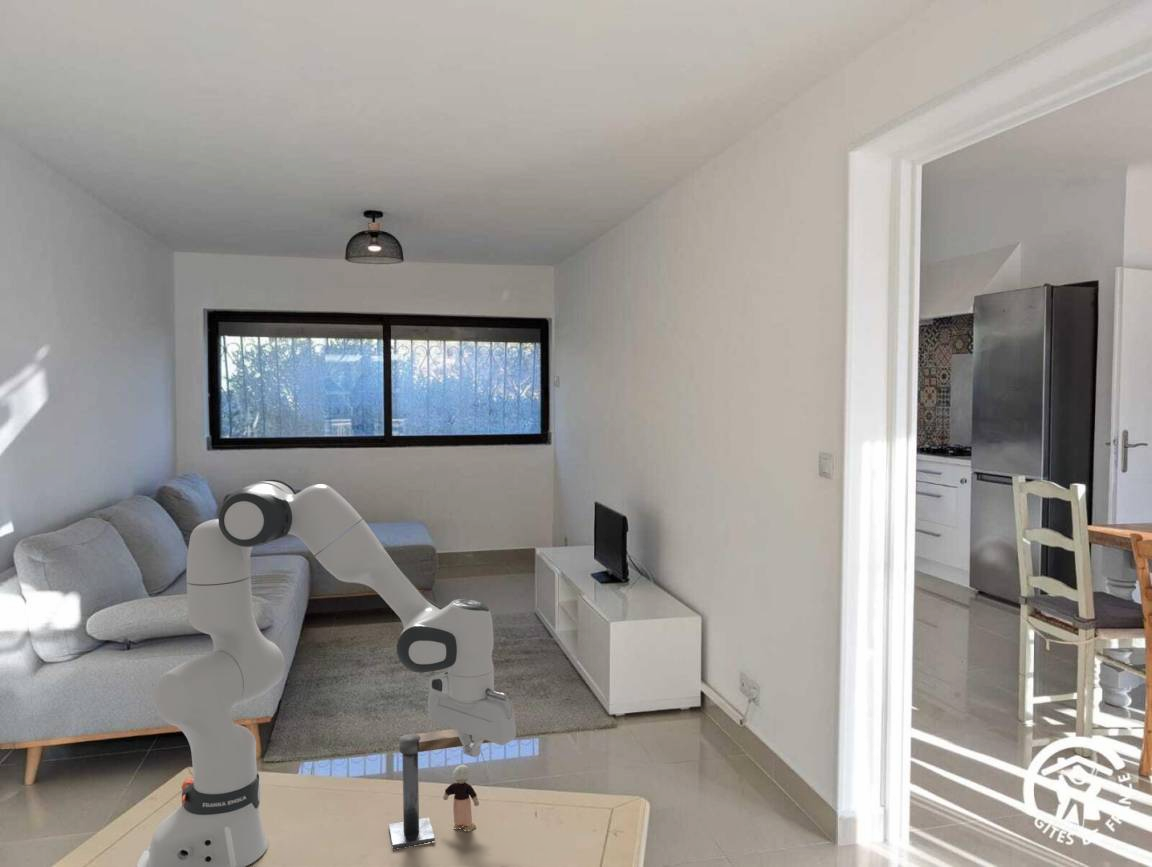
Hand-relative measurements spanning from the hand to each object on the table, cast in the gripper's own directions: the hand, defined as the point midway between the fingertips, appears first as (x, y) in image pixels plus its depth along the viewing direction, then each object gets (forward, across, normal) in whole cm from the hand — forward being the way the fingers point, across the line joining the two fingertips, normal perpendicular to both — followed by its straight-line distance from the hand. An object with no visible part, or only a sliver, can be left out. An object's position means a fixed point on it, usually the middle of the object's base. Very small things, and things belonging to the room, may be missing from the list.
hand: (471, 754), depth 159 cm
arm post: (+18, +12, +5) cm, 22 cm away
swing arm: (0, +7, -2) cm, 7 cm away
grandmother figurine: (+18, +6, -3) cm, 19 cm away
